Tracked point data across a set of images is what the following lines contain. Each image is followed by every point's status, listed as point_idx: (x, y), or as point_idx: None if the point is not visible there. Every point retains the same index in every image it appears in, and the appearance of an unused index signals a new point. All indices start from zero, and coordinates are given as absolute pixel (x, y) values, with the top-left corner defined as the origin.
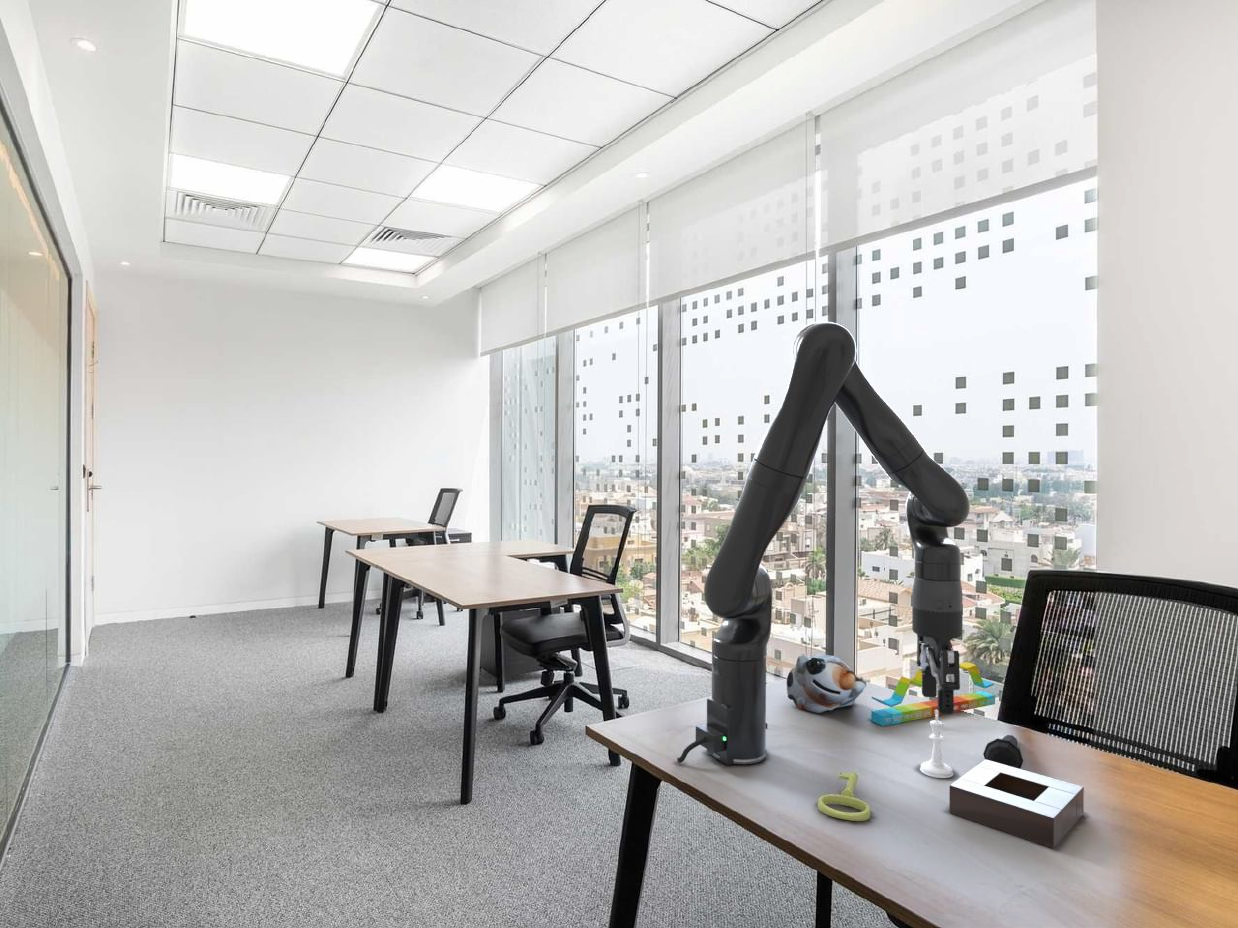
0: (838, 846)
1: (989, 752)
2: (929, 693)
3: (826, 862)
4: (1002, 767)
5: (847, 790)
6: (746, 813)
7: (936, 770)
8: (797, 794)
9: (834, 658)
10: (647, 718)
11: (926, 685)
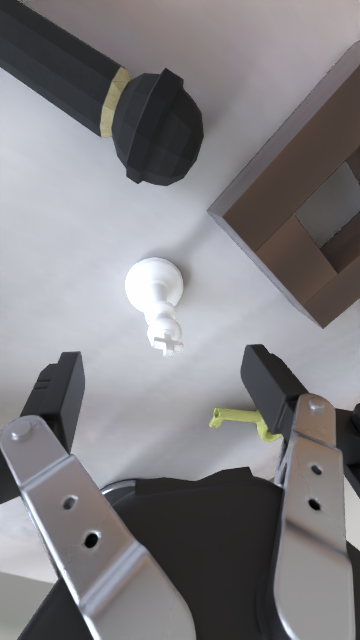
0: None
1: (169, 180)
2: (81, 376)
3: None
4: (270, 195)
5: (264, 423)
6: (267, 478)
7: (176, 295)
8: (232, 449)
9: None
10: (31, 570)
11: (76, 406)
